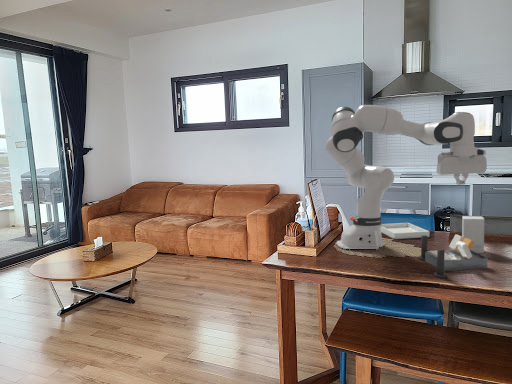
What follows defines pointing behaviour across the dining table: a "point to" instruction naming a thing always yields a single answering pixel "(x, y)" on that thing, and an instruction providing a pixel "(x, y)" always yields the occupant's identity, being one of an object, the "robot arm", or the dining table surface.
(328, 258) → the dining table surface
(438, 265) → the cord posts
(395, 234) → the tray
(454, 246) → the paddle
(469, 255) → the paddle
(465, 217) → the skincare box
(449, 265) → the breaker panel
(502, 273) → the dining table surface
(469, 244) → the paddle amber
